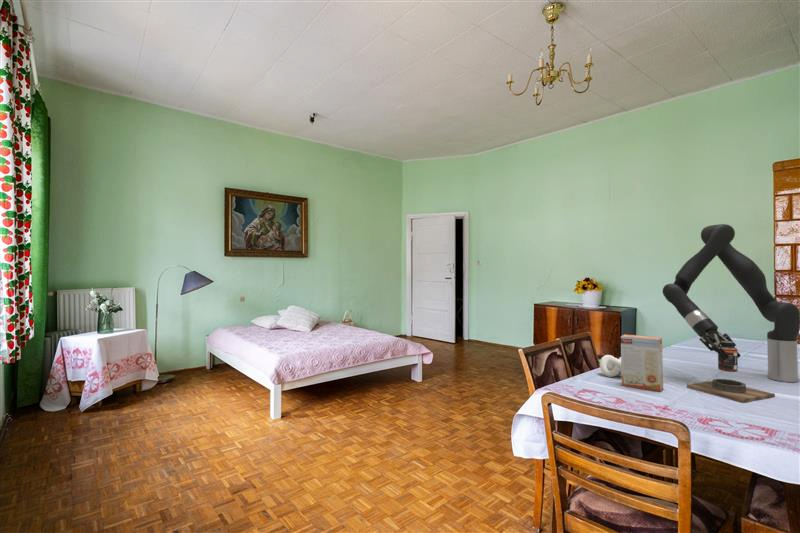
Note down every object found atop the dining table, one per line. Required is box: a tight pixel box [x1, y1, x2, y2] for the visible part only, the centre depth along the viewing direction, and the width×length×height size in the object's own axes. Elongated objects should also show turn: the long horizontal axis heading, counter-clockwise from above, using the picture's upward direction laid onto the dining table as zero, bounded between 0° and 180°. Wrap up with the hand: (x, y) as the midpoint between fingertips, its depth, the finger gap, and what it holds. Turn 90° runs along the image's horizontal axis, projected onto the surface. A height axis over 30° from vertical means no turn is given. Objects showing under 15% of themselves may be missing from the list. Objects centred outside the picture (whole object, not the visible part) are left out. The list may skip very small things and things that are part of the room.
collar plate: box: [686, 378, 776, 404], centre depth 156 cm, size 18×20×4 cm
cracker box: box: [620, 333, 664, 392], centre depth 164 cm, size 14×6×21 cm, turn 47°
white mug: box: [599, 354, 622, 378], centre depth 180 cm, size 11×12×9 cm
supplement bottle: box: [717, 341, 739, 373], centre depth 156 cm, size 6×6×11 cm
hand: (732, 357), depth 154 cm, fingers closed on supplement bottle, 6 cm apart
